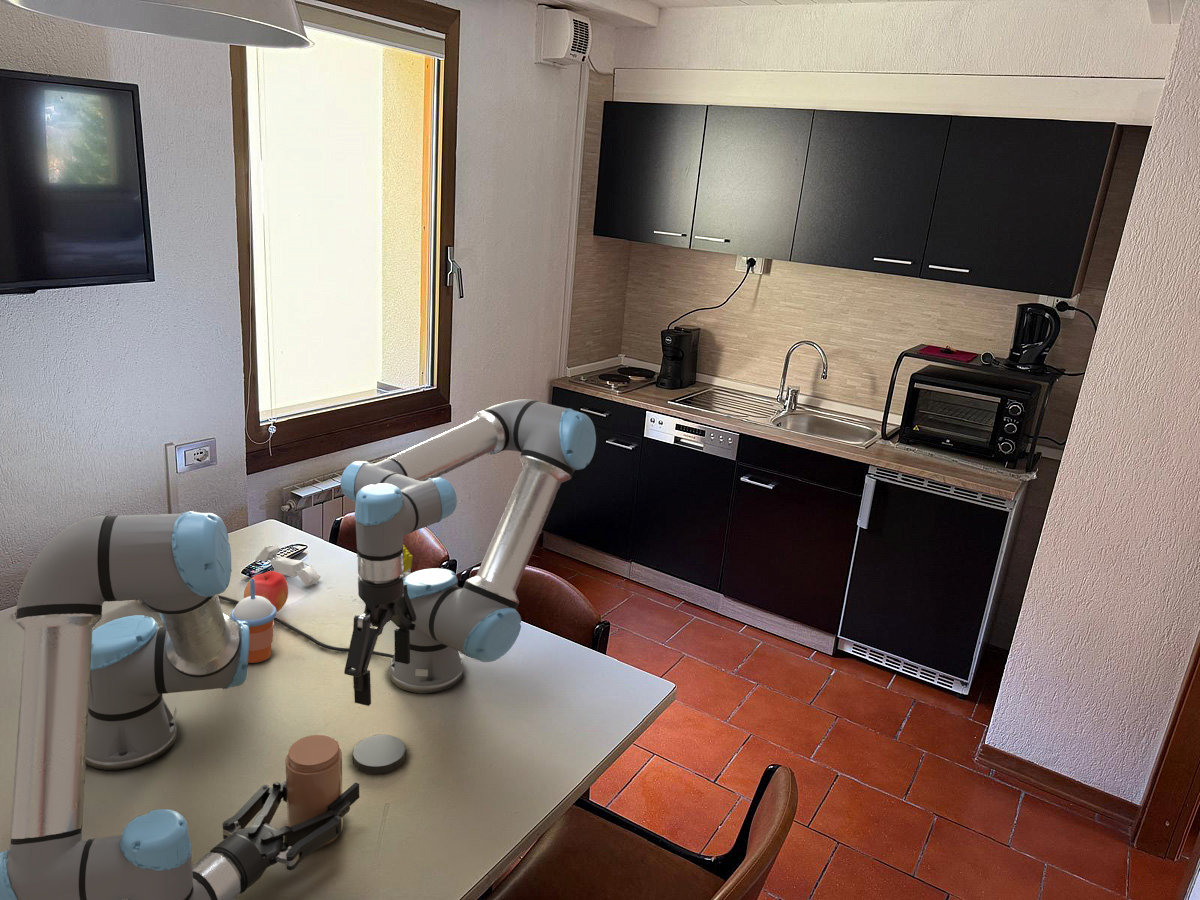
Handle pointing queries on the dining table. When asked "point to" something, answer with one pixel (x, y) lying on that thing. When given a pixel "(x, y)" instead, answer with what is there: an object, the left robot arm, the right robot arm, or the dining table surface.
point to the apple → (270, 588)
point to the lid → (379, 754)
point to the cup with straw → (257, 623)
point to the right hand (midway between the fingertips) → (383, 681)
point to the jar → (312, 777)
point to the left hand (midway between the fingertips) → (335, 780)
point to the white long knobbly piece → (288, 565)
